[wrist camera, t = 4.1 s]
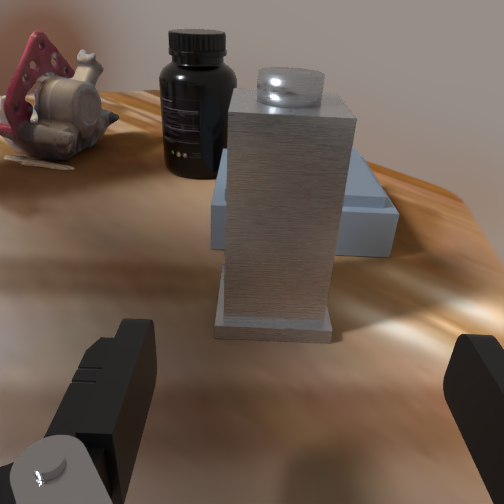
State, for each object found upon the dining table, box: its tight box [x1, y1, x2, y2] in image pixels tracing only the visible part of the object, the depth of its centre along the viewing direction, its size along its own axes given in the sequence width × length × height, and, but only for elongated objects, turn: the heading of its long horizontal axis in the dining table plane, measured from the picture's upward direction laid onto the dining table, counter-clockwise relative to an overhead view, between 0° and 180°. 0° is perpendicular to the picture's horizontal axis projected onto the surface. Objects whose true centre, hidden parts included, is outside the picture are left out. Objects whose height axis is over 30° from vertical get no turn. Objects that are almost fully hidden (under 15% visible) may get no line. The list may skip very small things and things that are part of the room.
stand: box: [211, 149, 399, 258], centre depth 35 cm, size 12×12×4 cm
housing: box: [215, 67, 357, 343], centre depth 22 cm, size 6×6×12 cm
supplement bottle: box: [159, 29, 237, 179], centre depth 41 cm, size 7×7×12 cm
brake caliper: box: [0, 30, 119, 170], centre depth 45 cm, size 11×11×12 cm
